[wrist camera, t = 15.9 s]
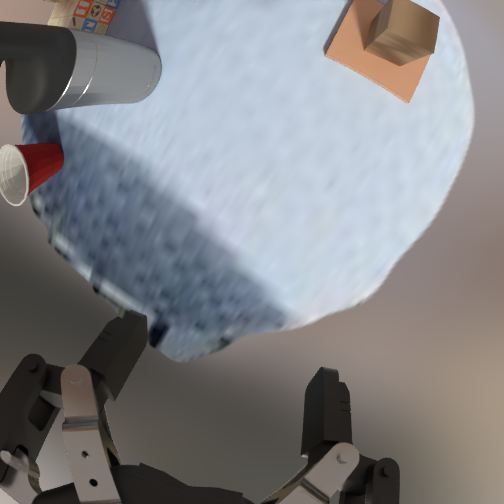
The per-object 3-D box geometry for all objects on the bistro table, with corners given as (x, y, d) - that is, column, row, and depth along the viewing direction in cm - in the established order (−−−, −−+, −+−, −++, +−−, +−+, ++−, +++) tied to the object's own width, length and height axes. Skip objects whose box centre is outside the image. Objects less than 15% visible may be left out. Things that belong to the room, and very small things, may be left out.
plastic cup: (65, 195, 42) (21, 219, 31) (36, 168, 40) (-7, 188, 30) (80, 145, 37) (28, 162, 26) (48, 121, 35) (0, 134, 24)
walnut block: (363, 50, 24) (387, 28, 15) (371, 21, 21) (394, -7, 13) (399, 66, 24) (433, 53, 15) (406, 37, 21) (439, 17, 13)
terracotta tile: (325, 56, 26) (325, 54, 25) (356, -6, 20) (358, -9, 19) (405, 102, 27) (409, 102, 26) (433, 40, 21) (437, 38, 20)
